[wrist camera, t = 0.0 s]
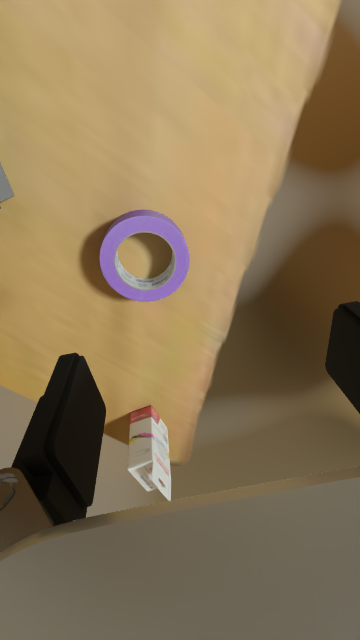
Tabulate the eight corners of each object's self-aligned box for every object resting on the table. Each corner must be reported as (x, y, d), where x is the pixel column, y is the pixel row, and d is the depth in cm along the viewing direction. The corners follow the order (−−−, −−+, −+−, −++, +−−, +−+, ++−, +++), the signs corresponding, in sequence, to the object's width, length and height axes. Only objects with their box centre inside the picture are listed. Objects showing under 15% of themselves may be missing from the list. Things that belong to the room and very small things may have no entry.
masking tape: (191, 213, 38) (195, 220, 35) (181, 292, 44) (184, 304, 41) (101, 205, 37) (97, 211, 34) (103, 287, 43) (100, 299, 40)
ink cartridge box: (128, 412, 57) (123, 487, 45) (151, 404, 57) (153, 478, 44) (147, 436, 62) (147, 510, 49) (168, 429, 61) (173, 502, 49)
